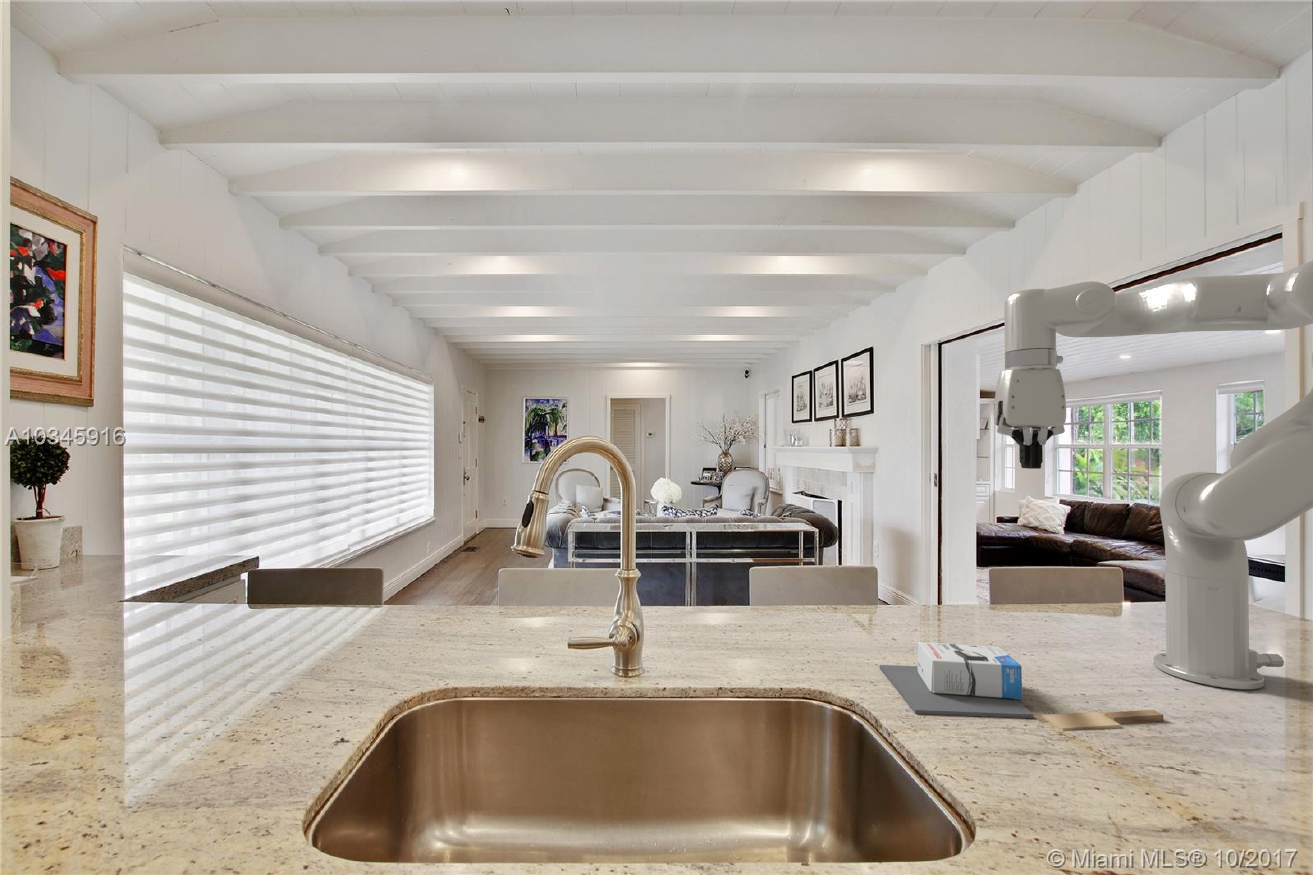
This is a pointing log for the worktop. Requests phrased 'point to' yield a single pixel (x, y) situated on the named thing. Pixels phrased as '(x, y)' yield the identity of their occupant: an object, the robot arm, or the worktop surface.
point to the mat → (948, 697)
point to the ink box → (969, 670)
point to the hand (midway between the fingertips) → (1031, 468)
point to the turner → (1101, 719)
